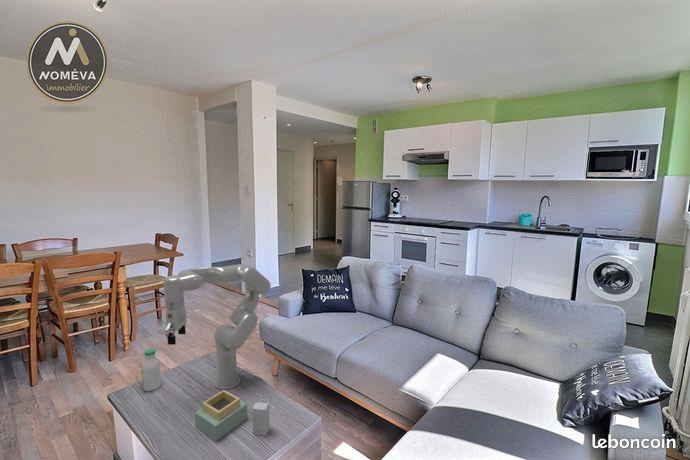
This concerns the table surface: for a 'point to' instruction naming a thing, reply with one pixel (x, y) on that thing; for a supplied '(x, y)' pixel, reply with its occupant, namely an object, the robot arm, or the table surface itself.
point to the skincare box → (260, 418)
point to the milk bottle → (151, 371)
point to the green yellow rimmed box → (220, 415)
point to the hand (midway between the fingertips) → (177, 338)
